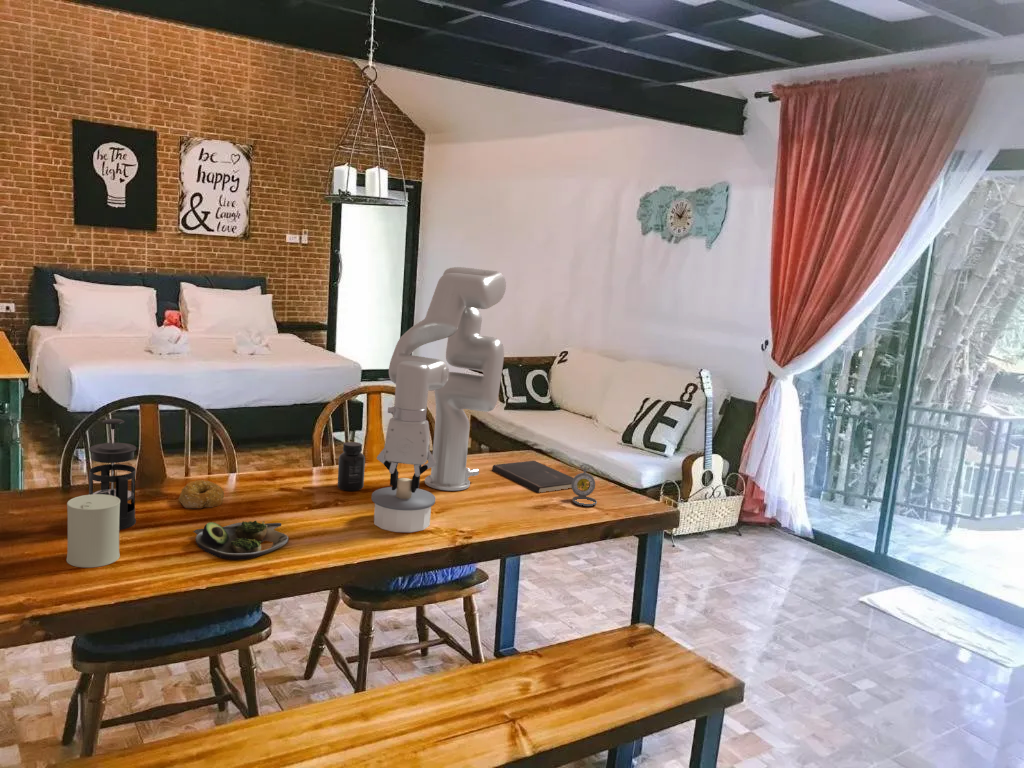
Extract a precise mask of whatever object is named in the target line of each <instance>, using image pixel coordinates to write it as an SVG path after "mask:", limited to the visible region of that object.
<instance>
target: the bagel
mask: <svg viewBox="0 0 1024 768" xmlns="http://www.w3.org/2000/svg"><path fill="white" fill-rule="evenodd" d="M224 495H225V492H224V490H223V487H222V486H221V485H219V484H217V483H215V482H213V481H209V480H204V479H199V480H198V479H196V480H194V481H189V482H187V483H186V485H185V486H184V487H183V488H182V489H181V492H180V494H179V497H178V502H180V504H181V506H182V507H183V508H184V509H187V510H188V509H189V510H190V509H196V510H197V509H203V508H213V507H214V508H215V507H219V506H221V505H222V504H223V501H224Z"/></svg>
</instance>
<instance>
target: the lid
mask: <svg viewBox="0 0 1024 768" xmlns="http://www.w3.org/2000/svg"><path fill="white" fill-rule="evenodd" d="M411 489H412V478H409V477H398V479H397V488H396V489H395V490H392V486H386V487H382V488H378V489H375V490H374V491H373V492H372V493H371V501H372V503H374V505H375V504H377V505H379V506H382V507H385V508H389V509H394V510H421V509H426V508H429V507H431V508H432V506H434V505H435V503H436V496H435V494H433V493H432V492H430V491H428V490H425V489H421V488H418V489H416V491H415V493H412V492H411Z"/></svg>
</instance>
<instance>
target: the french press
mask: <svg viewBox="0 0 1024 768" xmlns="http://www.w3.org/2000/svg"><path fill="white" fill-rule="evenodd" d="M124 423H125V420H123V419H120V418H108V419H103V420H102V424H104V425H110V430H112V431H111V434H112V435H111V439H112V440H111V442H104V443H103V442H102V443H98V444H94V445H91V446H90V447H89V448H88V449H89V452H90V453H91V460H92V461H94V462H98V463H103V464H101V465H97V466H93V467H91V468H90V469H89V470H88V472H89V473H88V483H89V484H88V485H89V486H88V495H91V494H105V495H112V496H115V497H118V498H119V499H120V513H119V531H120V530H125V529H128V528H131V527H133V526H134V525H136V523H137V520H136V474H137V472H136V471H137V468H136V467H134V466H132V465H129V464H124V462H128V461H132V460H133V459H134V455H135V451H136V450H137V447H136V445H134V444H131V443H126V442H115V430H116V427H117V425H121V424H124ZM119 463H120V464H119ZM121 463H123V464H121ZM115 471H124V472H129V473H126V474H121V475H114V473H115ZM96 473H100V475H99V474H96ZM110 473H111V475H110ZM130 480H131V481H130ZM94 481H95V482H100V490H97V491H95V492H94ZM129 481H130V482H131V484H130V485H131V487H130V489H131V490H129ZM110 483H111V485H110ZM114 483H115V488H114ZM110 486H111V488H110ZM128 501H130V503H128Z"/></svg>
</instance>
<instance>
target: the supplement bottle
mask: <svg viewBox="0 0 1024 768" xmlns="http://www.w3.org/2000/svg"><path fill="white" fill-rule="evenodd" d="M342 444H343V447H342V451H343V452H342V453H340V454H339V456H338V468H337V469H338V470H337V488H338V489H339V490H341V491H345V492H357V491H361V490H362V489H363V488H364V483H365V468H366V457H365V454H363V453H362V451H363V444H362V443H360V442H356V441H349V442H347V441H346V442H344V443H342Z"/></svg>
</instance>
